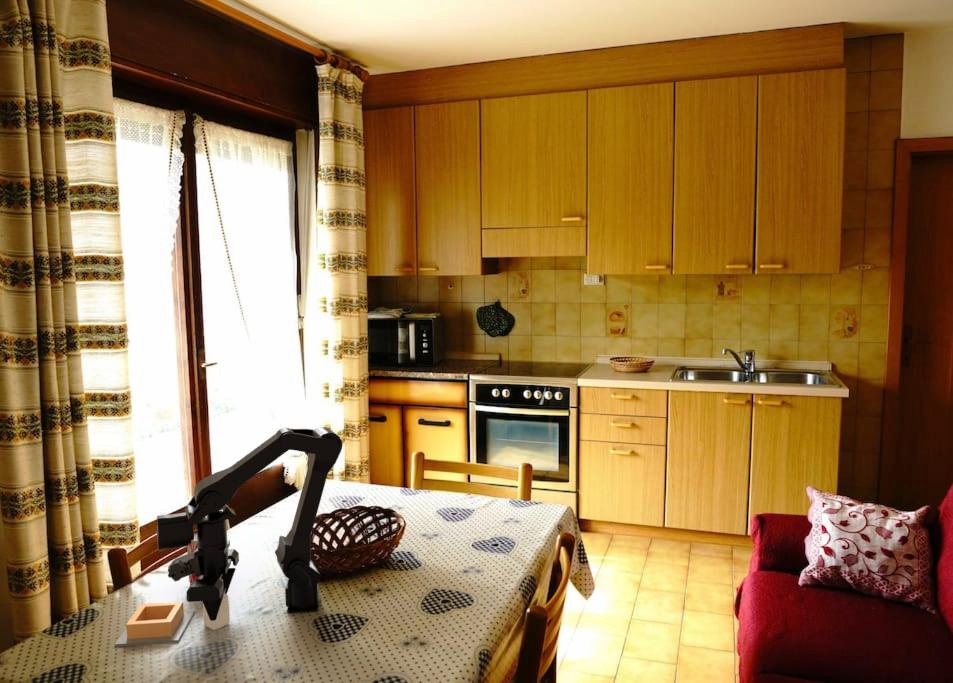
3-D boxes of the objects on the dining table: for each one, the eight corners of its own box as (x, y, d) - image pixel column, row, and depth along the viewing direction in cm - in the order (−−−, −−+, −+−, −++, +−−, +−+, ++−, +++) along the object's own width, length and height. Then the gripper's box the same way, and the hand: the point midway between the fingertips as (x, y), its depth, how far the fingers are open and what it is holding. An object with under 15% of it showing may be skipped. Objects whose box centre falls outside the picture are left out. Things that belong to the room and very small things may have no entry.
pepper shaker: (213, 632, 145) (211, 587, 144) (202, 626, 147) (200, 582, 146) (231, 623, 148) (228, 580, 147) (220, 618, 151) (217, 575, 150)
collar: (194, 612, 153) (194, 597, 153) (178, 642, 141) (177, 625, 141) (136, 616, 152) (135, 600, 151) (114, 646, 140) (113, 629, 139)
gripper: (184, 526, 154) (188, 594, 156) (156, 562, 136) (161, 640, 137) (237, 523, 155) (241, 591, 157) (217, 559, 137) (221, 636, 139)
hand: (216, 613), depth 148 cm, fingers closed on pepper shaker, 5 cm apart
